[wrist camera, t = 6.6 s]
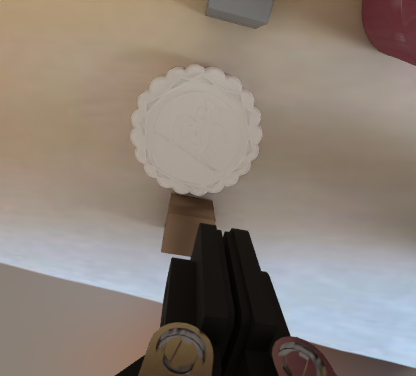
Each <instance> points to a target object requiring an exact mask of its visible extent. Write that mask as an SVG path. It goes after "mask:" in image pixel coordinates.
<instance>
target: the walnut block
mask: <svg viewBox="0 0 416 376" xmlns="http://www.w3.org/2000/svg"><path fill="white" fill-rule="evenodd" d="M200 223H205V224H211V225H215V214H214V208H213V201H212V200H206V199H201V198H195V197H190V196H184V195H179V194H173V193H172V194H171V199H170V204H169V209H168V214H167V219H166V224H165V229H164V236H163V243H162V249H161V252H163V253H169V254H176V255H183V256H189V257H191V255H192V251H193V247H194V243H195V239H196V235H197V230H198V227H199V224H200Z"/></svg>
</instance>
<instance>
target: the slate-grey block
mask: <svg viewBox="0 0 416 376" xmlns="http://www.w3.org/2000/svg"><path fill="white" fill-rule="evenodd" d="M273 1H274V0H208V4H207V9H206V15H205V16H209V17H213V18H217V19H221V20H224V21H228V22H232V23H236V24H240V25H243V26H247V27H251V28H255V29H256V28H258V27H260V26H263V25H265V24H267V23H268V20H269V16H270V12H271V9H272V5H273Z"/></svg>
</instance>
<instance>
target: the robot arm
mask: <svg viewBox="0 0 416 376" xmlns="http://www.w3.org/2000/svg"><path fill="white" fill-rule="evenodd" d="M115 376H337V375H336V374H335V372H334V371H333V369H332V367H331V365H330V364H329V362H328V360H327V359H326V358H325V356H324V355H323V354H322V353H321V352H320V351H319V350H318V349H317V348H316V347H315V346H313V345H312V344H310V343H309V342H307V341H305V340H303V339H300V338H298V337H291V336H290V333H289V331H288V328H287V325H286V322H285V319H284V316H283V313H282V311H281V308H280V305H279V302H278V299H277V296H276V293H275V291H274V288H273V285H272V282H271V279H270V276H269V274H268V273H267V272H263V271H261V269H260V266H259V263H258V260H257V257H256V254H255V250H254V247H253V244H252V241H251V238H250V235H249V232H248V231H246V230H240V229H234V228H232V229H231V230H230V232H227V231H225V233H224V236H223V237H222V231H221V230H217V228H216V225H211V224H205V223H200V224H199V227H198V230H197V235H196V239H195V243H194V247H193V251H192V255H191V260H185V259H179V258H173V257H172V259H171V263H170V267H169V272H168V277H167V282H166V288H165V294H164V301H163V309H162V317H161V324H160V328H159V329H158V330H157V331H156V332H155V333H154V334H153V336H152V338H151V340H150V342H149V345H148V348H147V351H146V354H145V355H144V356H143V357H141V358H140V359H138V360H137V361H135V362H134V363H133V364H131V365H130V366H128V367H127V368H126V369H124V370H123V371H121V372H120V373H118V374H117V375H115Z"/></svg>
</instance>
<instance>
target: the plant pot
mask: <svg viewBox="0 0 416 376" xmlns="http://www.w3.org/2000/svg"><path fill="white" fill-rule="evenodd" d="M362 20H363V25H364V29H365V32H366V34H367V36H368V38H369V40H370V41H371V43H372V44H373V45H374V46H375V47H376V48H377V49H378V50H379V51H381V52H382V53H384V54H386V55H389V56H392V57H395V58H398V59H400V60H403V61H405V62H407V63H410V64H412V65H415V66H416V0H363V3H362Z"/></svg>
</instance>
